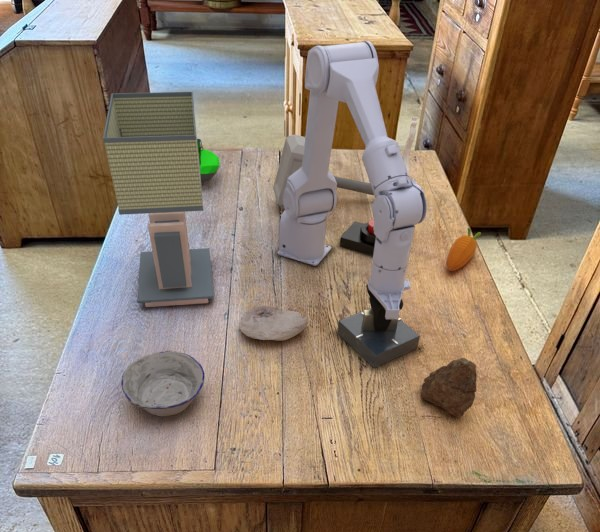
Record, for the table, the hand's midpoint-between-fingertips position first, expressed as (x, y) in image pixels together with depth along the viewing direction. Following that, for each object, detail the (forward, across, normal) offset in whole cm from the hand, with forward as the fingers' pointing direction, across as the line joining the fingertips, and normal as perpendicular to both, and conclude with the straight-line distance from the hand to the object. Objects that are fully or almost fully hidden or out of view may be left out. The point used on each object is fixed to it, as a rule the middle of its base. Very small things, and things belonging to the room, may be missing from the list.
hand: (379, 326), depth 102 cm
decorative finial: (+4, +38, -10) cm, 40 cm away
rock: (+4, -17, -9) cm, 19 cm away
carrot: (+1, +19, -18) cm, 26 cm away
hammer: (+4, +51, +2) cm, 51 cm away
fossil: (+4, +3, +19) cm, 20 cm away
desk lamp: (+4, +18, +38) cm, 42 cm away
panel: (+3, 0, 0) cm, 3 cm away
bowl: (+4, -14, +37) cm, 39 cm away
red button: (0, +32, -4) cm, 33 cm away
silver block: (0, 0, 0) cm, 0 cm away
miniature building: (+4, +62, +37) cm, 73 cm away
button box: (+3, +33, -3) cm, 33 cm away
